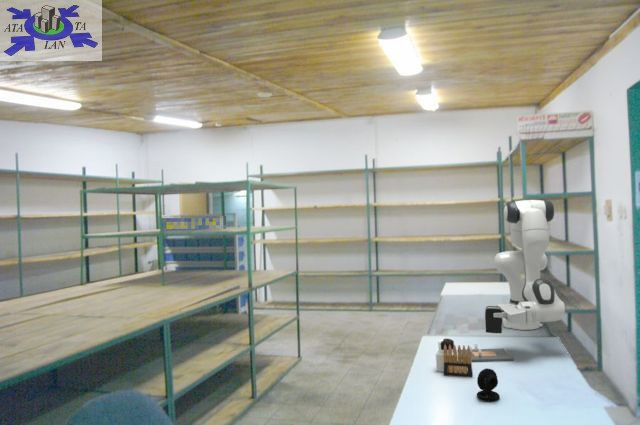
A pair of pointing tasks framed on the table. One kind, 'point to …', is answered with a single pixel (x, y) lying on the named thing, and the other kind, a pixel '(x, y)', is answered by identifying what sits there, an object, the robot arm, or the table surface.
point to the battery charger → (493, 320)
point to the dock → (488, 355)
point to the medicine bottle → (441, 353)
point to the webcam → (487, 385)
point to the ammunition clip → (457, 362)
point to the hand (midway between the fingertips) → (491, 313)
